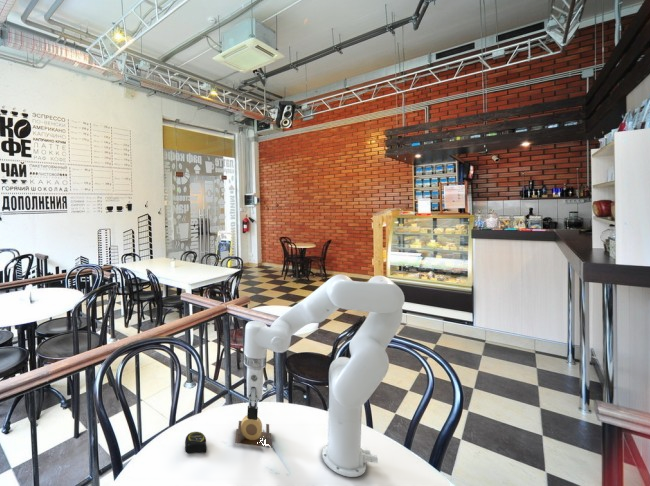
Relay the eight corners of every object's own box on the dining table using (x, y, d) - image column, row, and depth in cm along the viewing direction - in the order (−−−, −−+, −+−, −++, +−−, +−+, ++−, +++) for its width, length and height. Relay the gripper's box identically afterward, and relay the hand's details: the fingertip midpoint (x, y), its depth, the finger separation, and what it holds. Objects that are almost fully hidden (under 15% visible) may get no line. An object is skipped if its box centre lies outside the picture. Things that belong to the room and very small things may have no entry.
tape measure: (184, 457, 102) (184, 445, 102) (185, 441, 109) (185, 430, 109) (206, 457, 103) (206, 445, 103) (205, 441, 110) (206, 430, 109)
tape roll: (263, 434, 111) (259, 413, 111) (263, 439, 109) (259, 418, 109) (243, 435, 112) (239, 415, 112) (243, 441, 110) (239, 420, 110)
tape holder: (271, 435, 113) (271, 424, 113) (271, 450, 106) (272, 438, 106) (236, 431, 115) (236, 420, 115) (234, 445, 108) (235, 433, 108)
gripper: (266, 373, 101) (264, 428, 101) (265, 349, 118) (263, 396, 119) (242, 370, 102) (239, 424, 103) (245, 347, 119) (242, 394, 120)
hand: (252, 409), depth 111 cm, fingers open, 9 cm apart
